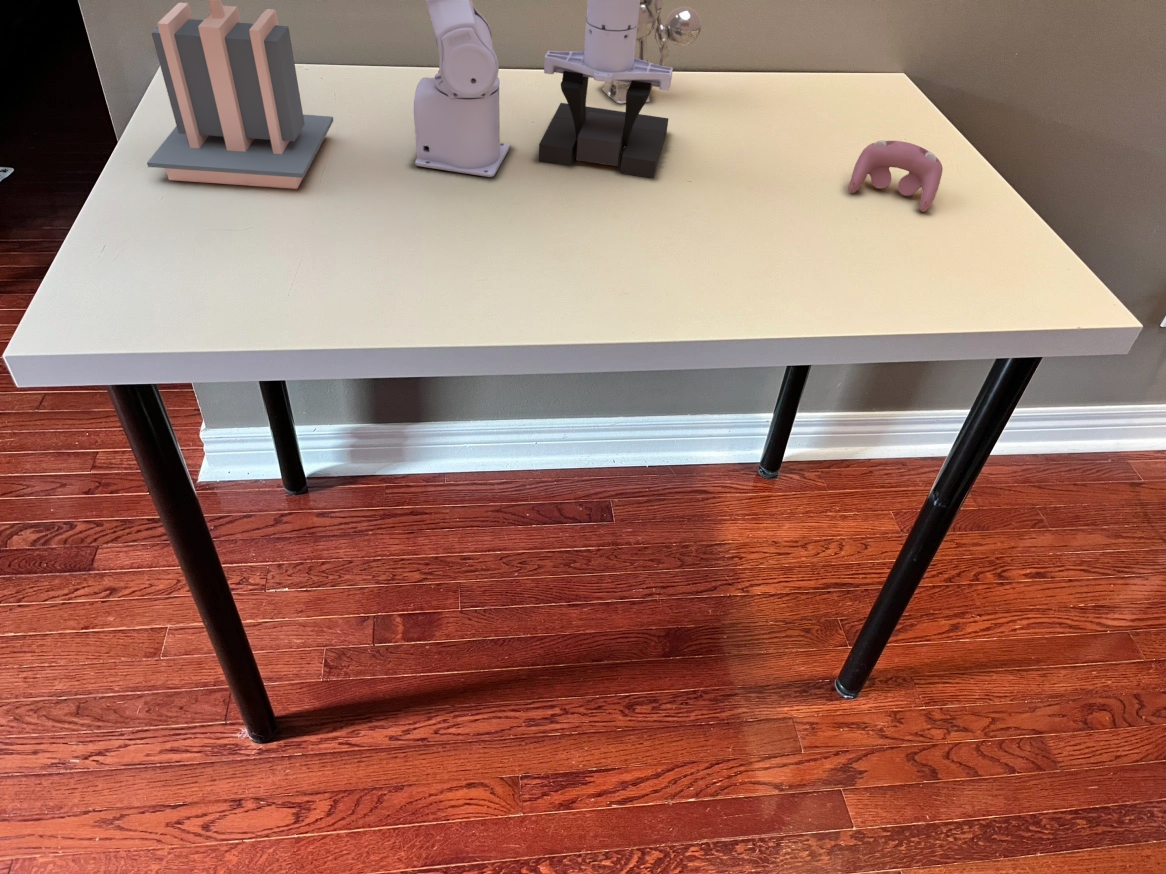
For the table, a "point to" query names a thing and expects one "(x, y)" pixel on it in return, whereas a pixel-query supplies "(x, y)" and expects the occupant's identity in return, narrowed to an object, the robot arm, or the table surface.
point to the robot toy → (658, 37)
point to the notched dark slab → (636, 156)
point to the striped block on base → (233, 101)
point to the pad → (601, 139)
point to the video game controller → (904, 156)
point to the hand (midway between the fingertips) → (602, 139)
